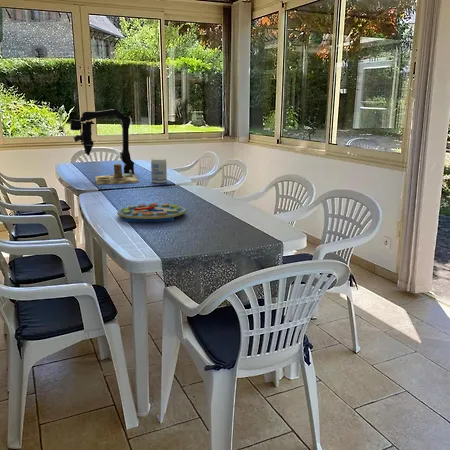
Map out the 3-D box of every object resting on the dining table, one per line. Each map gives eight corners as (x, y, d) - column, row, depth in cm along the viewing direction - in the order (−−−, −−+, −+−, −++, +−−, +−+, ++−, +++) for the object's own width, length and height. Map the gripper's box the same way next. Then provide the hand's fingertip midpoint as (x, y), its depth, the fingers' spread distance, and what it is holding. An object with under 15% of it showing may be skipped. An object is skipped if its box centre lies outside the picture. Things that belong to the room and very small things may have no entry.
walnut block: (121, 178, 283) (121, 163, 280) (122, 179, 279) (121, 164, 276) (114, 178, 282) (113, 164, 279) (115, 180, 278) (114, 165, 275)
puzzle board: (135, 176, 299) (135, 172, 298) (138, 182, 279) (138, 177, 278) (95, 178, 292) (95, 173, 291) (95, 184, 272) (95, 179, 271)
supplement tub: (152, 183, 276) (151, 160, 272) (150, 181, 284) (149, 158, 280) (168, 182, 279) (167, 159, 274) (165, 180, 287) (164, 157, 283)
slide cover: (131, 174, 297) (131, 169, 296) (132, 176, 290) (132, 171, 289) (121, 175, 295) (120, 170, 294) (121, 176, 288) (121, 171, 287)
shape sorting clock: (187, 208, 217) (186, 196, 215) (183, 225, 188) (183, 212, 186) (124, 208, 216) (123, 196, 214) (111, 226, 187) (110, 212, 185)
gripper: (72, 129, 297) (73, 152, 301) (75, 131, 280) (75, 156, 284) (90, 130, 301) (90, 153, 305) (93, 132, 285) (93, 156, 289)
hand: (87, 154), depth 296 cm, fingers open, 9 cm apart
